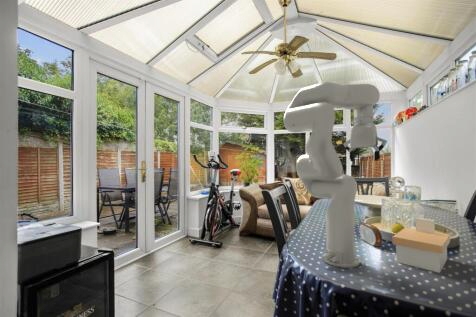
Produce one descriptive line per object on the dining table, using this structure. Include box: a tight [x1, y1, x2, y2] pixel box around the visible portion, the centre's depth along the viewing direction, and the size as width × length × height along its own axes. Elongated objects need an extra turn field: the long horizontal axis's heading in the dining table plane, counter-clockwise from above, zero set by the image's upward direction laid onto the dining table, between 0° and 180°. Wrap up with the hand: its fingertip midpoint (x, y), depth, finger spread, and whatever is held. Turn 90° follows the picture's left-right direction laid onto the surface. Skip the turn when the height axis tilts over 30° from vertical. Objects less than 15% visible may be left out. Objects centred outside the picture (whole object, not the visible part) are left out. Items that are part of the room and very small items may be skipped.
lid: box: [391, 217, 451, 254], centre depth 87 cm, size 18×14×8 cm
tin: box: [358, 221, 383, 247], centre depth 106 cm, size 15×3×8 cm, turn 179°
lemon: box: [391, 222, 405, 234], centre depth 109 cm, size 6×6×8 cm
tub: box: [395, 244, 448, 274], centre depth 87 cm, size 16×12×8 cm
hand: (364, 161), depth 104 cm, fingers open, 9 cm apart
